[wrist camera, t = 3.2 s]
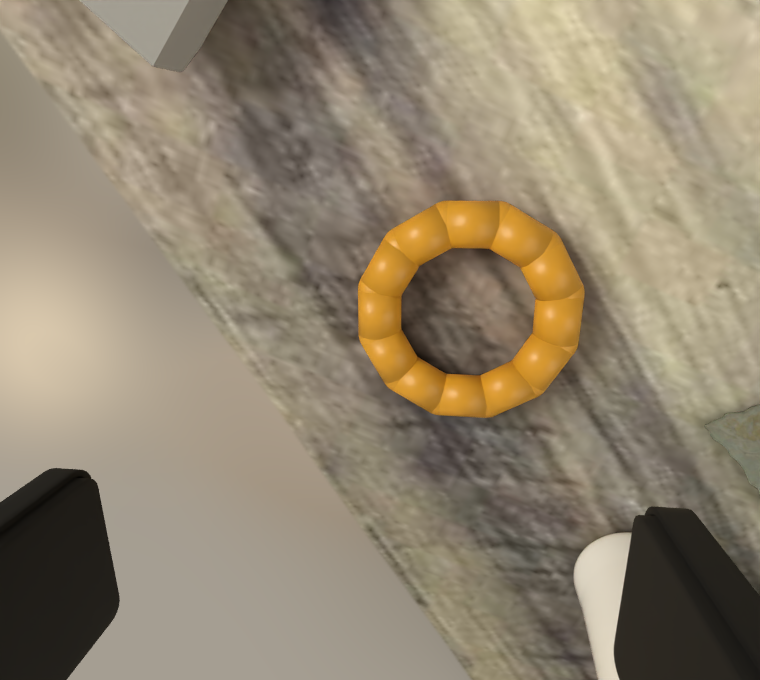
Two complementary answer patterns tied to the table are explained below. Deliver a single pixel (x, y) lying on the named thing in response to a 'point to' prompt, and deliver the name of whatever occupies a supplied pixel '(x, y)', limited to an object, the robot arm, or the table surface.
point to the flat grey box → (160, 27)
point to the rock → (741, 439)
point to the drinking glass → (602, 596)
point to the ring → (508, 239)
